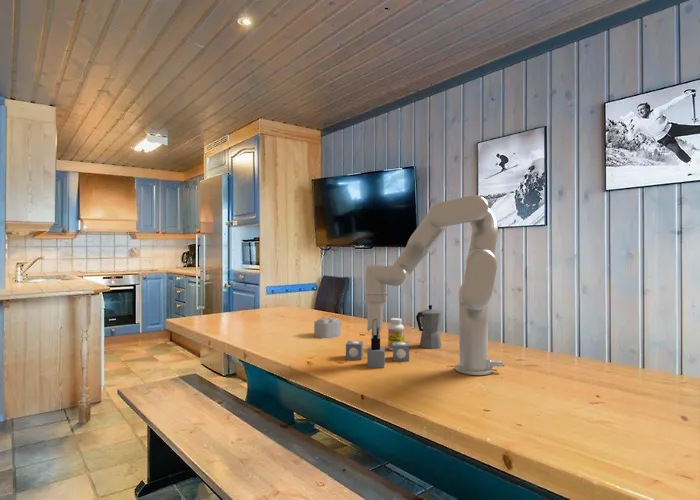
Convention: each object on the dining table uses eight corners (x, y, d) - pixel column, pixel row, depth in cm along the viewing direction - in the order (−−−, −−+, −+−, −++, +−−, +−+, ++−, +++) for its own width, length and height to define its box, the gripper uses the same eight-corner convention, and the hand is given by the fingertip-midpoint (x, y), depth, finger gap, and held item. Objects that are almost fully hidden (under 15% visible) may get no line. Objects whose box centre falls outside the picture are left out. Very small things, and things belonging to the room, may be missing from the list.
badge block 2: (408, 357, 167) (408, 341, 167) (409, 361, 161) (409, 345, 161) (393, 357, 168) (393, 341, 168) (393, 361, 162) (393, 345, 162)
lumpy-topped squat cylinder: (311, 335, 209) (311, 318, 209) (332, 332, 218) (332, 315, 218) (324, 339, 201) (324, 320, 201) (345, 335, 210) (345, 318, 210)
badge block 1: (362, 356, 169) (362, 340, 169) (361, 360, 163) (361, 344, 163) (347, 355, 170) (347, 340, 170) (345, 360, 164) (345, 343, 164)
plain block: (384, 363, 158) (384, 347, 158) (384, 368, 153) (384, 351, 153) (368, 363, 159) (368, 347, 159) (367, 367, 153) (367, 350, 153)
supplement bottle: (385, 350, 180) (385, 319, 179) (391, 346, 185) (391, 317, 185) (400, 351, 176) (400, 320, 176) (406, 348, 182) (406, 318, 182)
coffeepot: (431, 342, 194) (431, 302, 194) (448, 346, 186) (448, 304, 186) (408, 347, 184) (408, 305, 184) (425, 351, 177) (425, 308, 177)
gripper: (367, 296, 164) (366, 344, 164) (363, 301, 149) (363, 353, 149) (386, 296, 163) (386, 344, 163) (385, 301, 148) (385, 354, 148)
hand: (375, 349), depth 156 cm, fingers closed
